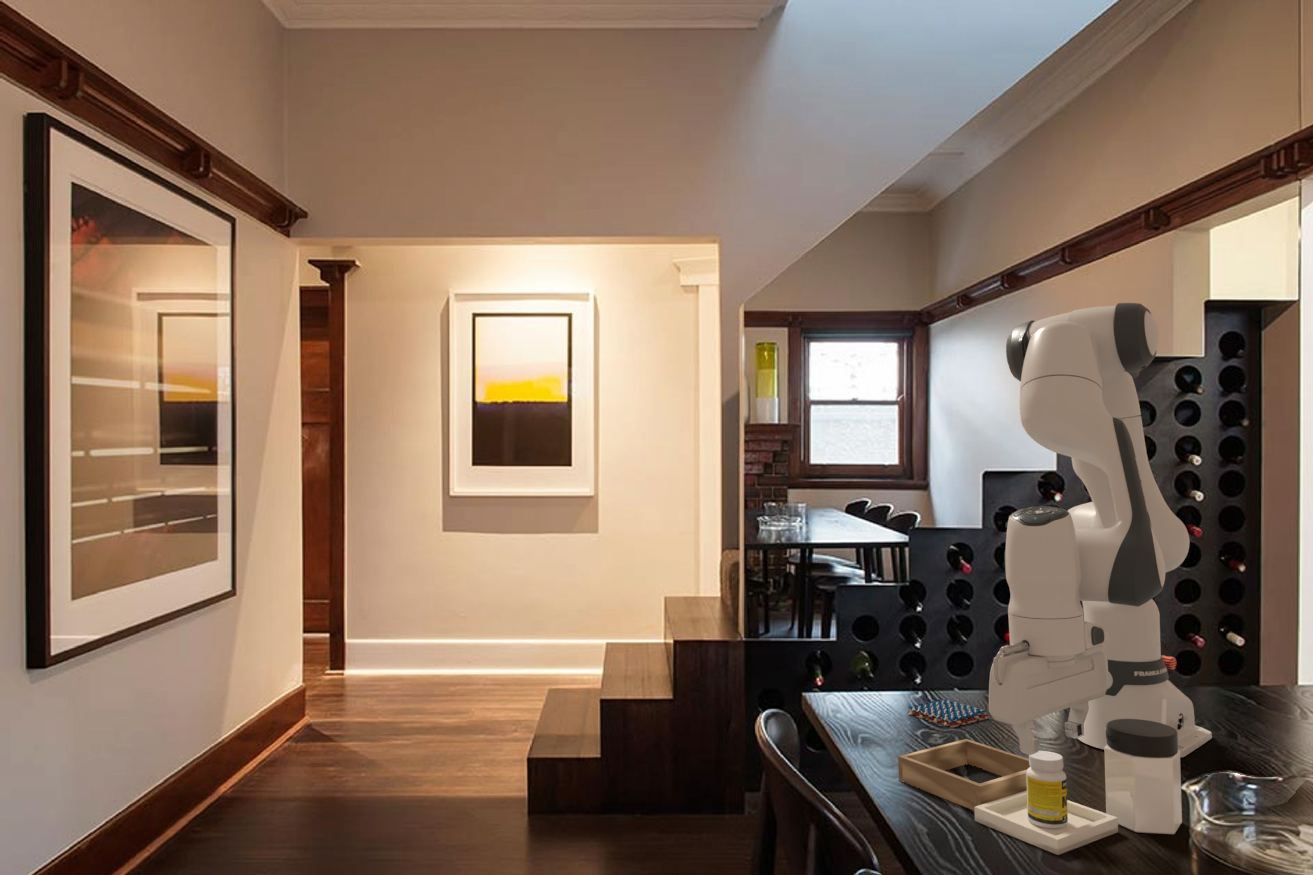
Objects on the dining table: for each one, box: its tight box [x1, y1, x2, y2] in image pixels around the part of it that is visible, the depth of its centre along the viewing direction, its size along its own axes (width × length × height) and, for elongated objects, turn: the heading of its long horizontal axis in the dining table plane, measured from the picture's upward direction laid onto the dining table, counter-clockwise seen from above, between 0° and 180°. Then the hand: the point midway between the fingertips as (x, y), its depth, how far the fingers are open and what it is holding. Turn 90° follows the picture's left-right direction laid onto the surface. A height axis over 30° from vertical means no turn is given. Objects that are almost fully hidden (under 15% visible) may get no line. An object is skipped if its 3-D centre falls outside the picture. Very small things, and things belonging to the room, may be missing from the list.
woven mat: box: [907, 698, 989, 728], centre depth 163 cm, size 10×11×2 cm
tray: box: [974, 790, 1119, 856], centre depth 114 cm, size 12×12×2 cm
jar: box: [1103, 719, 1183, 835], centre depth 116 cm, size 9×8×12 cm
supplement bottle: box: [1026, 750, 1068, 829], centre depth 114 cm, size 5×5×8 cm
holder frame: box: [897, 738, 1031, 812], centre depth 129 cm, size 15×15×4 cm
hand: (1052, 744), depth 114 cm, fingers open, 8 cm apart
